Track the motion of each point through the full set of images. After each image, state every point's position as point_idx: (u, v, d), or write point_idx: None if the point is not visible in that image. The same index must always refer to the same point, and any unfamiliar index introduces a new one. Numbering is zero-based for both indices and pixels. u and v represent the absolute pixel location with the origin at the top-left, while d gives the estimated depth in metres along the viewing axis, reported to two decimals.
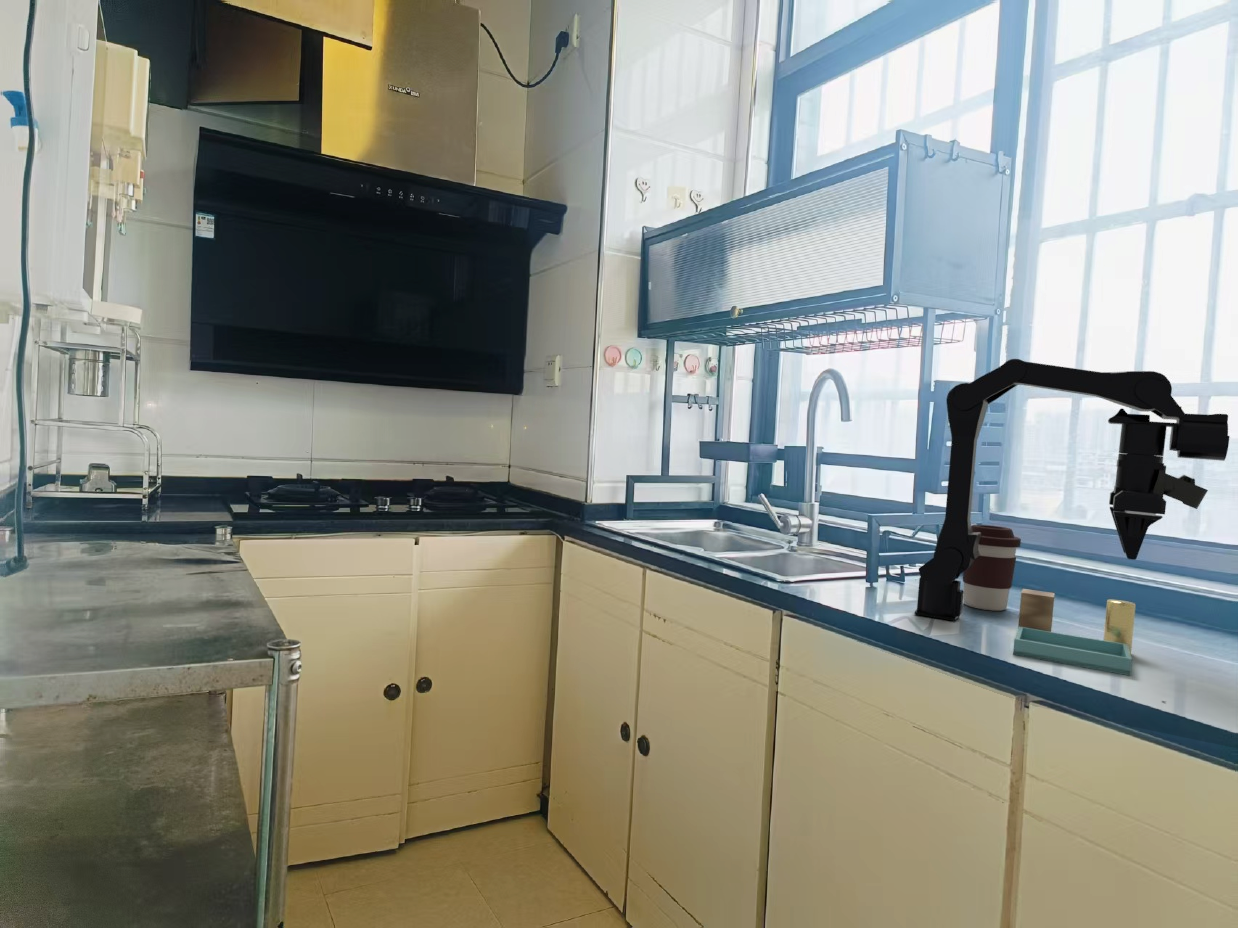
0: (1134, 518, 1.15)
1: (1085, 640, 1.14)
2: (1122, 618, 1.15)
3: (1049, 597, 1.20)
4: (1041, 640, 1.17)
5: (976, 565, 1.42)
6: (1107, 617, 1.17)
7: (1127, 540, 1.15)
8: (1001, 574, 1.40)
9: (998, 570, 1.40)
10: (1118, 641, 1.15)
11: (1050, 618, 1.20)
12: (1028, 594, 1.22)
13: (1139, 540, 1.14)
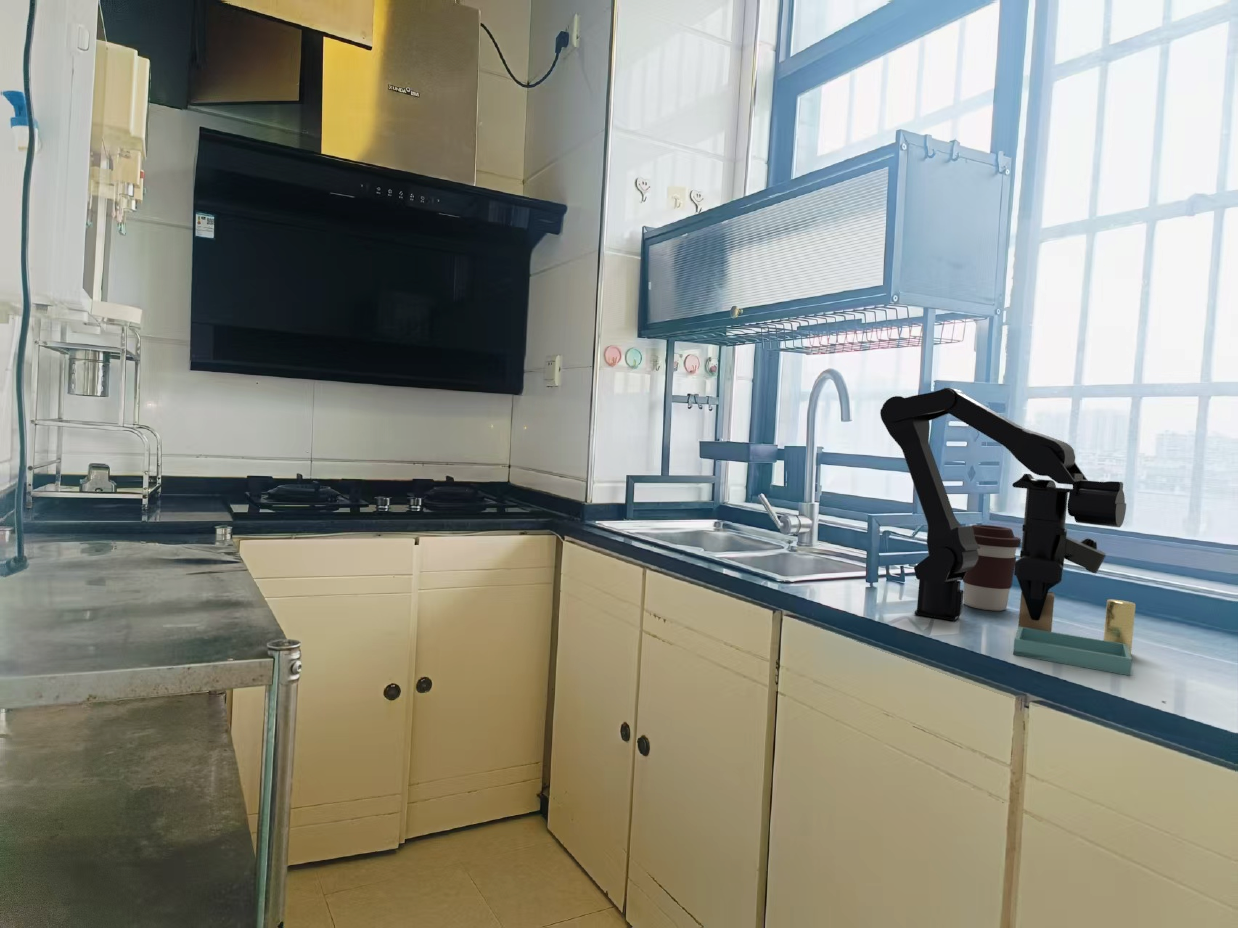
0: (1036, 581, 1.20)
1: (1085, 640, 1.14)
2: (1122, 618, 1.15)
3: (1049, 597, 1.20)
4: (1041, 640, 1.17)
5: (976, 565, 1.42)
6: (1107, 617, 1.17)
7: (1030, 602, 1.20)
8: (1001, 574, 1.40)
9: (998, 570, 1.40)
10: (1118, 641, 1.15)
11: (1050, 618, 1.20)
12: None
13: (1041, 602, 1.20)
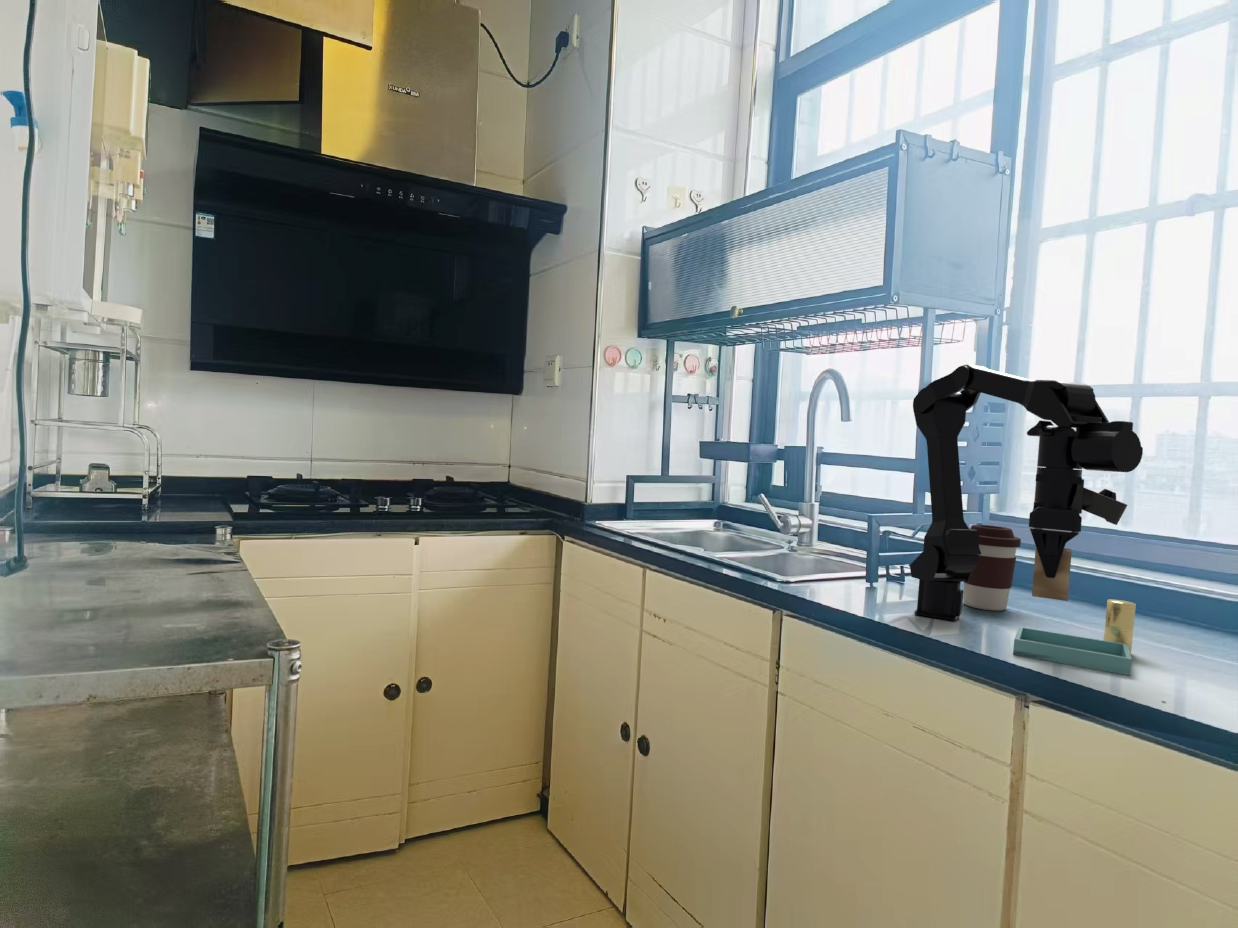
0: (1051, 535, 1.10)
1: (1085, 640, 1.14)
2: (1122, 618, 1.15)
3: (1066, 552, 1.10)
4: (1041, 640, 1.17)
5: None
6: (1107, 617, 1.17)
7: (1045, 558, 1.10)
8: (1001, 574, 1.40)
9: (998, 570, 1.40)
10: (1118, 641, 1.15)
11: (1068, 575, 1.10)
12: None
13: (1057, 557, 1.10)
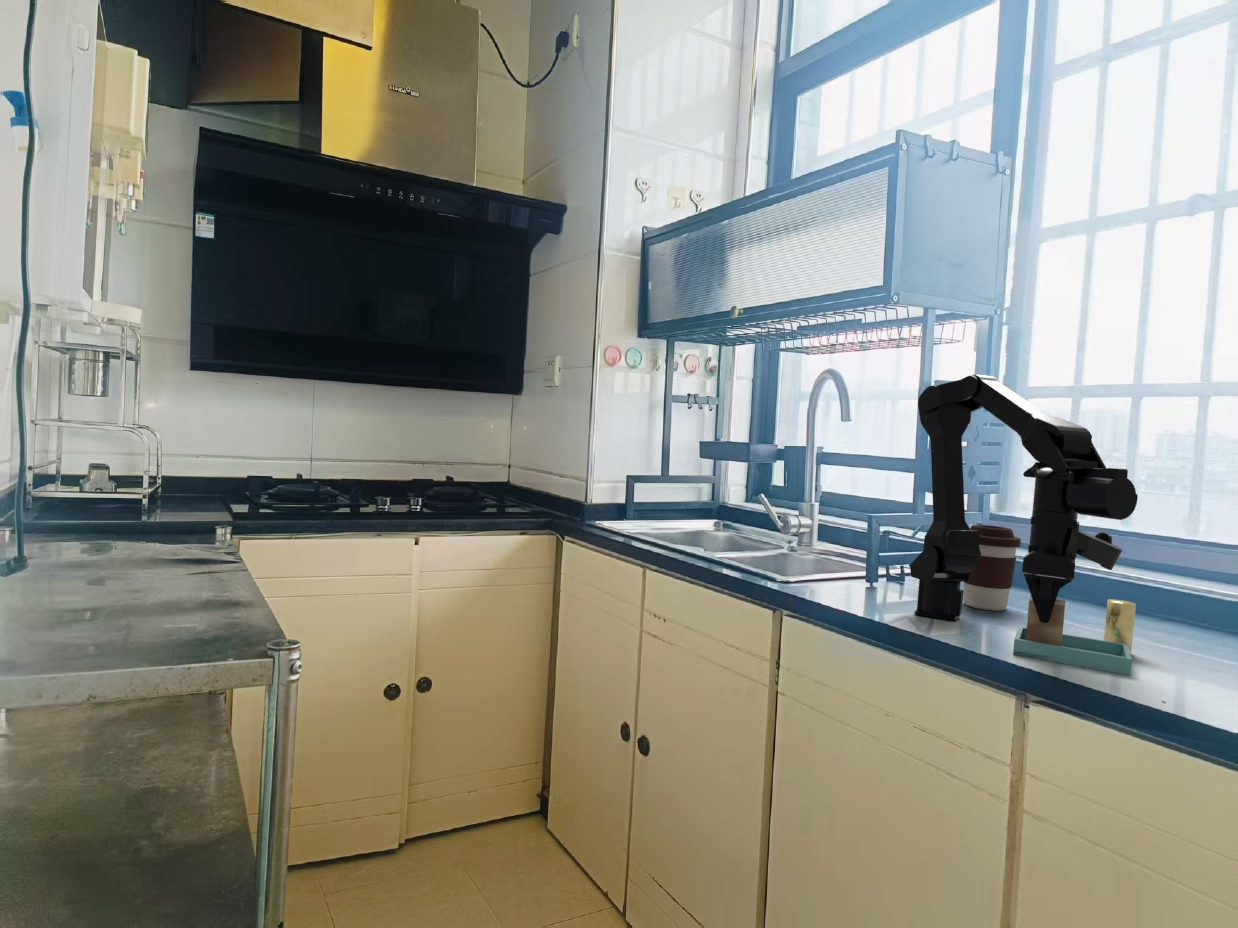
0: (1045, 579, 1.09)
1: (1085, 640, 1.14)
2: (1122, 618, 1.15)
3: (1060, 605, 1.10)
4: None
5: None
6: (1107, 617, 1.17)
7: (1039, 602, 1.09)
8: (1001, 574, 1.40)
9: (998, 570, 1.40)
10: (1118, 641, 1.15)
11: (1061, 628, 1.10)
12: None
13: (1051, 603, 1.09)
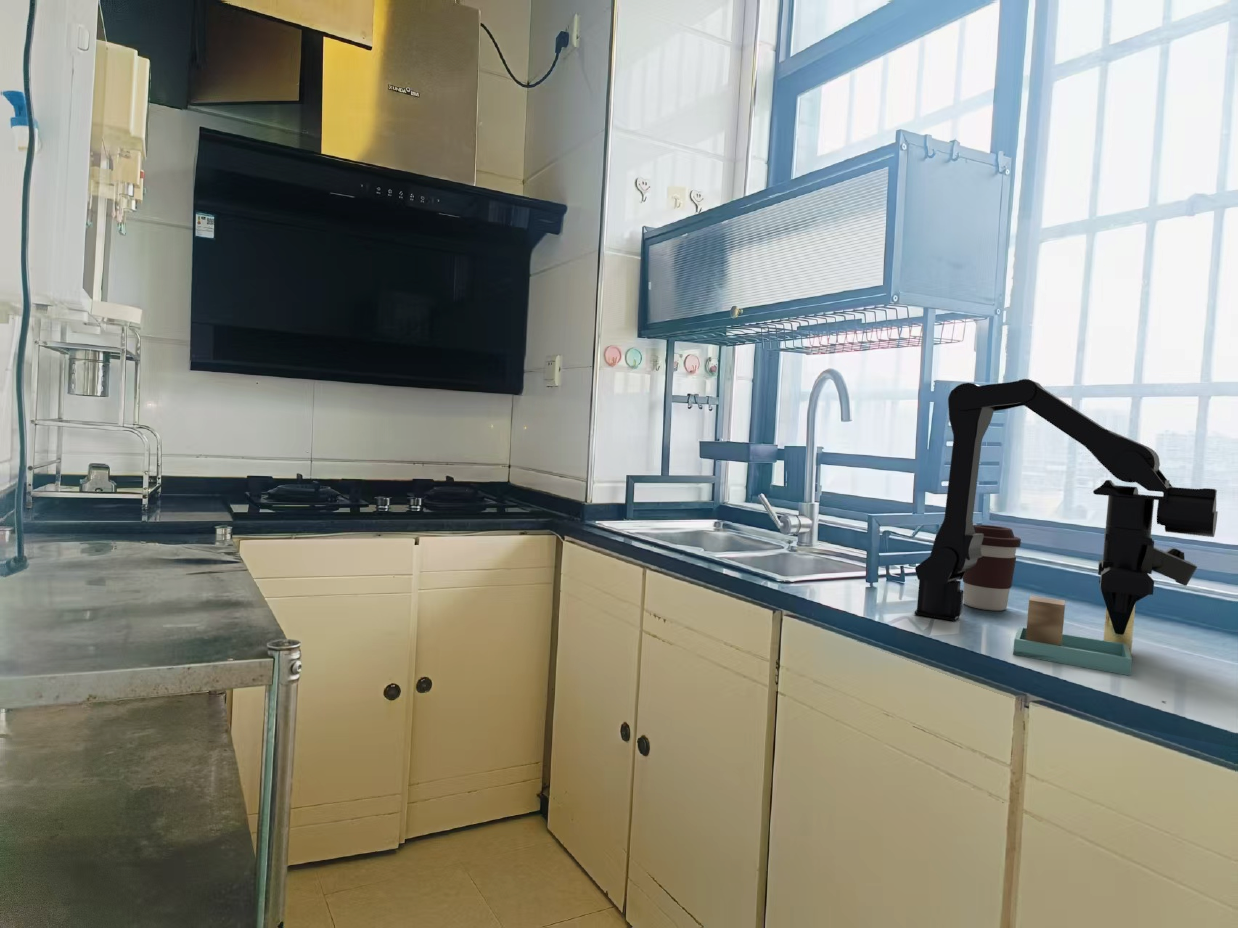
0: (1121, 593, 1.14)
1: (1085, 640, 1.14)
2: None
3: (1060, 605, 1.10)
4: None
5: (976, 565, 1.42)
6: (1107, 617, 1.17)
7: (1114, 615, 1.14)
8: (1001, 574, 1.40)
9: (998, 570, 1.40)
10: (1118, 641, 1.15)
11: (1061, 628, 1.10)
12: (1037, 602, 1.12)
13: (1127, 615, 1.14)
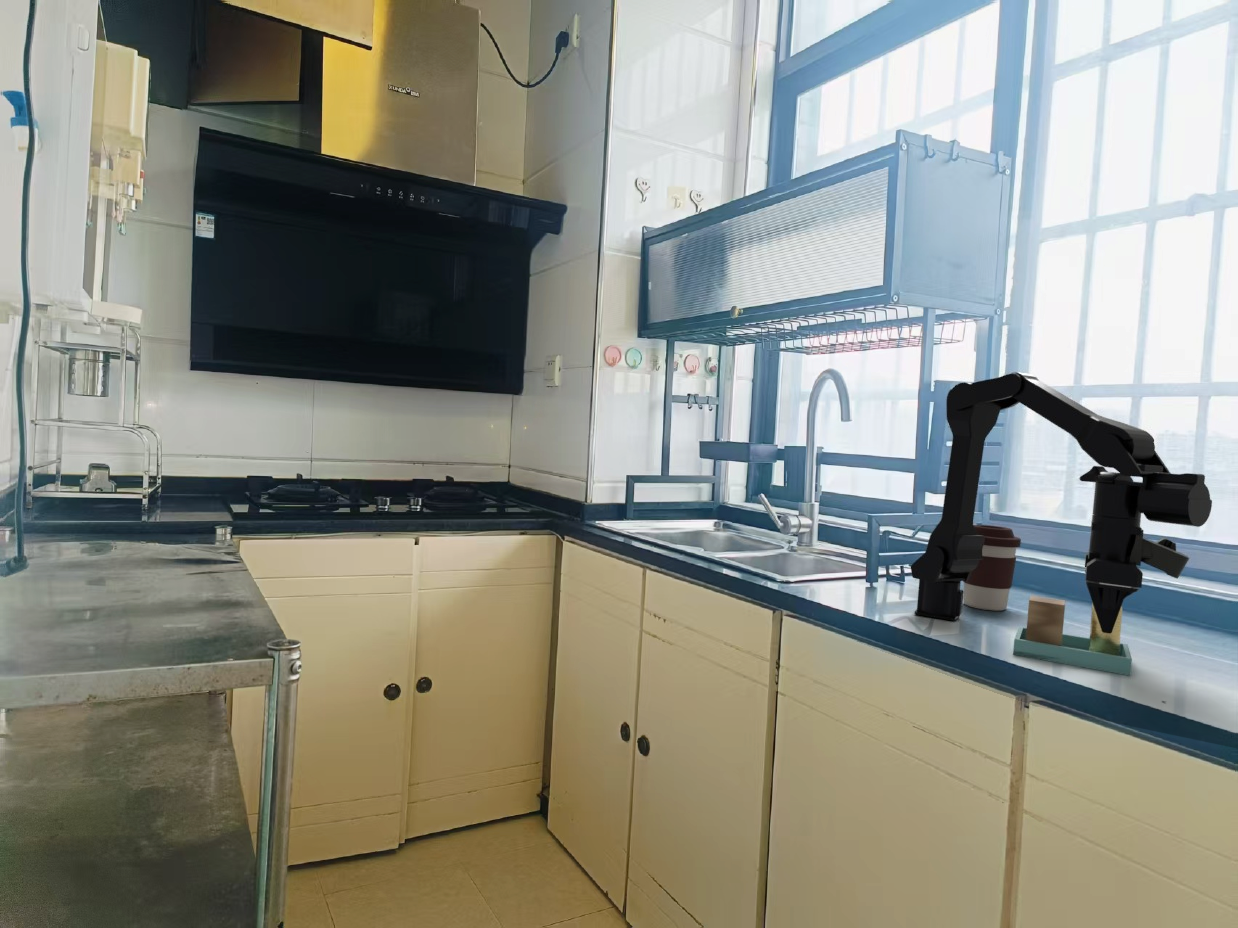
0: (1109, 588, 1.05)
1: (1085, 640, 1.14)
2: None
3: (1060, 605, 1.10)
4: None
5: None
6: (1092, 622, 1.09)
7: (1101, 612, 1.05)
8: (1001, 574, 1.40)
9: (998, 570, 1.40)
10: (1105, 647, 1.08)
11: (1061, 628, 1.10)
12: (1037, 602, 1.12)
13: (1115, 612, 1.04)
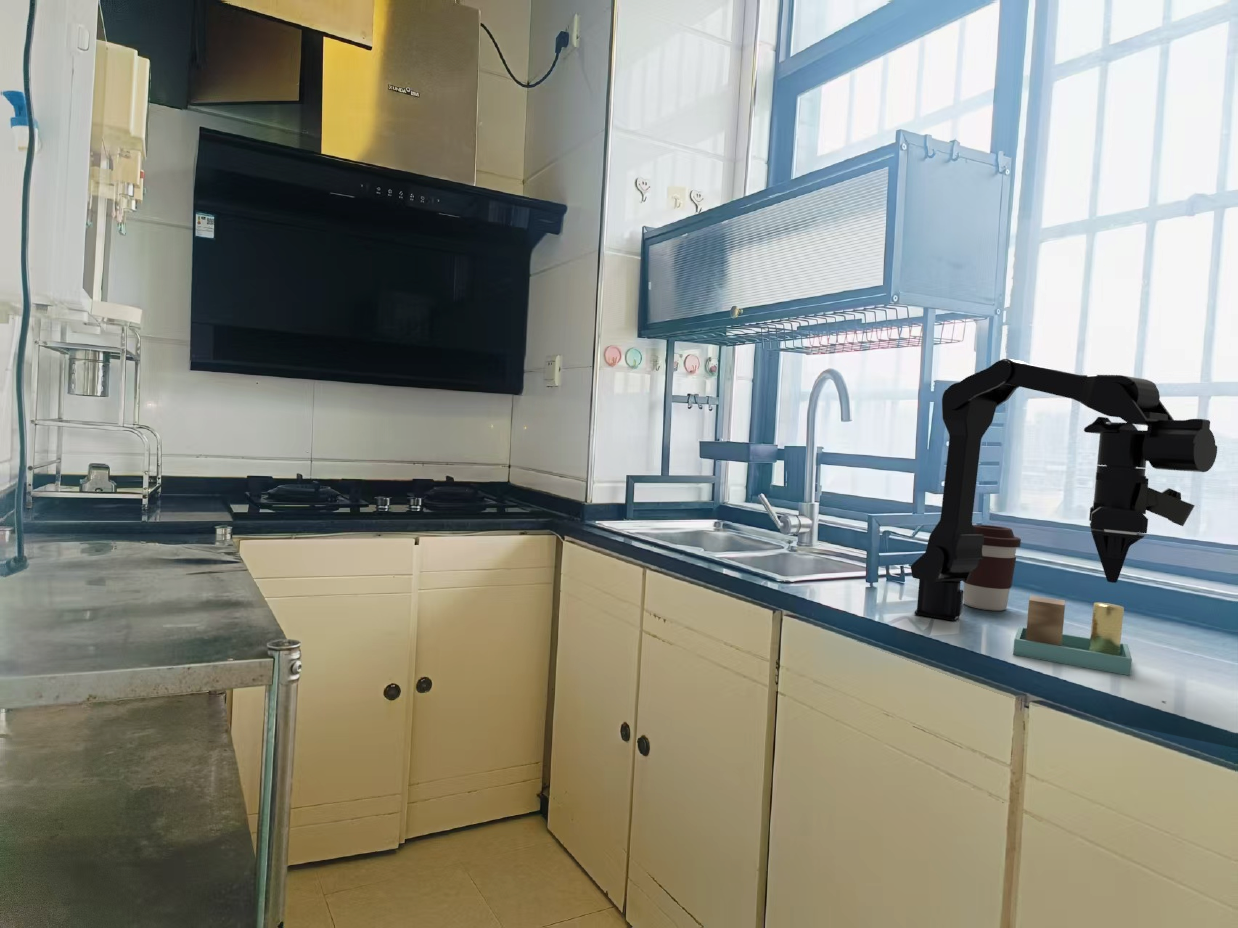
0: (1114, 537, 1.04)
1: (1085, 640, 1.14)
2: (1109, 623, 1.08)
3: (1060, 605, 1.10)
4: None
5: None
6: (1093, 622, 1.09)
7: (1107, 561, 1.04)
8: (1001, 574, 1.40)
9: (998, 570, 1.40)
10: (1105, 647, 1.08)
11: (1061, 628, 1.10)
12: (1037, 602, 1.12)
13: (1120, 561, 1.04)
